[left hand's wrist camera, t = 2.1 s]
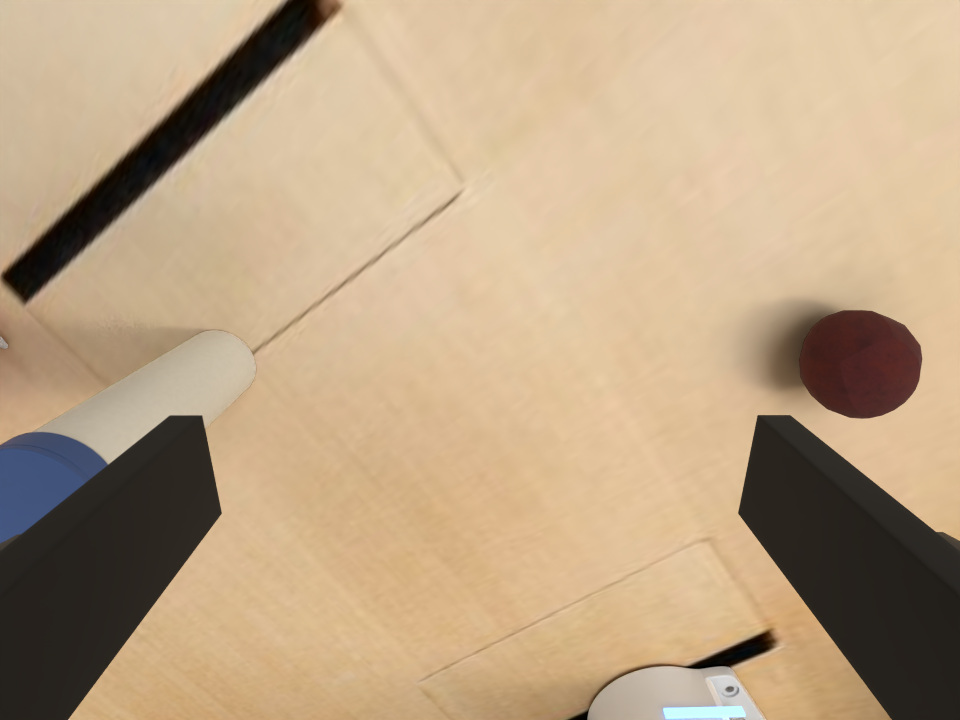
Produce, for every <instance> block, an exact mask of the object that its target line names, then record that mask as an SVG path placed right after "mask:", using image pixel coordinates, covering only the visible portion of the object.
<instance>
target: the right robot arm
mask: <svg viewBox="0 0 960 720" xmlns="http://www.w3.org/2000/svg"><path fill="white" fill-rule="evenodd" d="M587 720H767V719H766V718H765V716H764V715H763V713H762V712H761V710H760V709H759V708H758V706H757V705H756V703H755V702H754V700H753V699H752V697H751V696H750V694H749V693H748V691H747V690H746V688H745V687H744V686H743V684H742V683H741V681H740V680H739V678H738V677H737V675H736V674H735V672H734V671H733V670H732V669H731V668H729V667H725V666H718V667H710V668H704V669H689V668H683V667H674V666H659V667H650V668H645V669H641V670H637V671H634V672H631V673H629V674H626V675H624V676H622V677H620V678H618V679H616V680H615V681H613V682H612V683H610V684H609V685H608V686H606V687H605V688H604V689H603V690H602V691H601V692H600V693H599V694H598V695H597V697H596V698H595V699H594V701H593V703H592V704H591V707H590V709H589V712H588V718H587Z"/></svg>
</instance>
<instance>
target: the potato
mask: <svg viewBox="0 0 960 720" xmlns="http://www.w3.org/2000/svg"><path fill="white" fill-rule="evenodd" d="M921 363H922V354H921V347H920V344H919V343H918V342H917V340H916V339H915V338H914V336H913V335H912V334H911V333H910V331H909V330H908V329H907V328H906V326H905V325H903V324H901V323H899V322H897V321H895V320H893V319H891V318H888V317H886V316H883V315H880V314H878V313H875V312H873V311H863V310H843V311H840V312H838V313H835V314H832V315H829V316H827V317H824V318H823V319H822V320H820V321H819V322H818V323H817V324H816V325H814V326H813V327H812V329H811V330H810V332H809V333H808V335H807V336H806V338H805V340H804V344H803V348H802V351H801V355H800V359H799V364H800V376H801V379H802V381H803V383H804V385H805V386H806V388H807V390H808V391H809V393H810V394H811V395H812V396H813V397H814V398H815V399H816V400H817V401H818V402H819V403H821V404H822V405H823V406H824V407H825V408H827V409H828V410H831V411H834V412H836V413H839V414H842V415H844V416H847V417H850V418H872V417H877V416H881V415H884V414H886V413H889V412H891V411H893V410H895V409H896V408H898V407H899V406H901V405H902V404H903V403H905V402H906V401H907V400H908V398H909V397H910V396H911V395H912V394H913V392H914V391H915V389H916V387H917V384H918V382H919V378H920V370H921Z"/></svg>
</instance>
